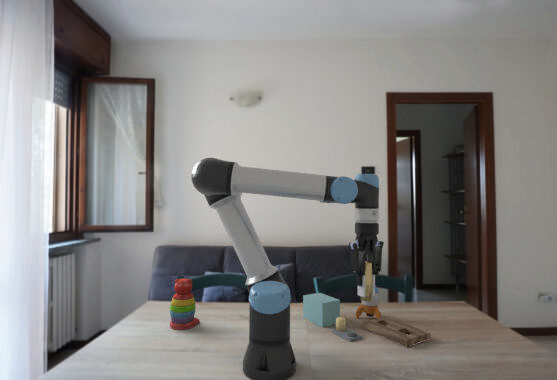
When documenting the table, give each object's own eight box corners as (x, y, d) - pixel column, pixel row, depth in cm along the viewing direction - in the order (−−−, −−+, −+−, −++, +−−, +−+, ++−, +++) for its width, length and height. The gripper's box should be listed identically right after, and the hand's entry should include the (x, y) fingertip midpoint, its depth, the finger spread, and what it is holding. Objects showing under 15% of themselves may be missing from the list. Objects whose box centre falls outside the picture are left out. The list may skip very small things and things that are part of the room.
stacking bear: (201, 321, 140) (201, 275, 141) (192, 330, 130) (192, 281, 131) (174, 320, 142) (175, 275, 142) (163, 329, 131) (164, 281, 132)
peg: (366, 302, 112) (366, 263, 113) (358, 299, 115) (358, 262, 116) (374, 300, 114) (374, 262, 114) (366, 298, 117) (366, 261, 117)
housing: (322, 327, 135) (322, 303, 135) (303, 317, 146) (303, 295, 146) (339, 323, 139) (339, 299, 139) (319, 314, 150) (319, 292, 150)
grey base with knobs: (349, 341, 121) (349, 326, 121) (331, 332, 130) (331, 318, 130) (361, 338, 124) (361, 323, 124) (343, 329, 132) (343, 315, 133)
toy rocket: (386, 324, 141) (381, 288, 139) (359, 328, 141) (354, 293, 139) (378, 312, 151) (374, 278, 149) (354, 316, 151) (348, 283, 150)
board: (407, 347, 117) (407, 339, 117) (363, 328, 134) (363, 321, 134) (430, 340, 123) (430, 332, 123) (385, 322, 140) (385, 316, 140)
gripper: (355, 223, 108) (355, 301, 107) (393, 222, 116) (393, 294, 116) (339, 221, 114) (338, 295, 114) (376, 220, 123) (375, 289, 122)
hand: (366, 294), depth 115 cm, fingers closed on peg, 3 cm apart
